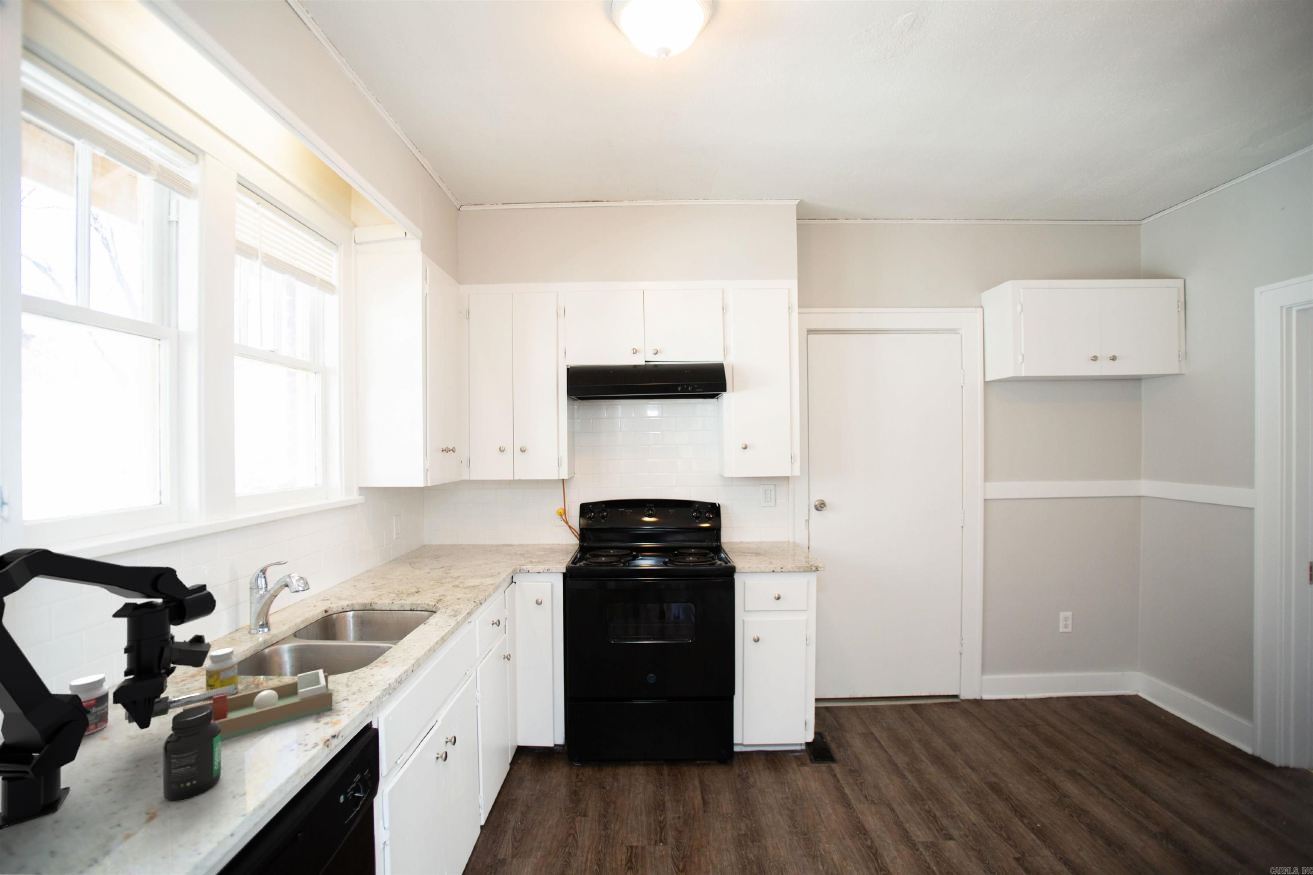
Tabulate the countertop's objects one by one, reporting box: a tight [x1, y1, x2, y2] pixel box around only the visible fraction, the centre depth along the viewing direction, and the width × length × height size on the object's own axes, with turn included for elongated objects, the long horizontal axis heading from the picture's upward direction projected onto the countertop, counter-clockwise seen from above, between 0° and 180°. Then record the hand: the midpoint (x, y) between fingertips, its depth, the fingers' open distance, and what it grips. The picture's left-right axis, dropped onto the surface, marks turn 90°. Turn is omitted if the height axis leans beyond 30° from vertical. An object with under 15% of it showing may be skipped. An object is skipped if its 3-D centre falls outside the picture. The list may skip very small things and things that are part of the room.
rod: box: [124, 685, 235, 724], centre depth 96 cm, size 4×15×7 cm, turn 127°
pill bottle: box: [68, 673, 110, 736], centre depth 99 cm, size 6×6×10 cm
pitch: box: [182, 672, 333, 741], centre depth 102 cm, size 12×24×4 cm, turn 127°
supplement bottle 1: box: [162, 705, 222, 802], centre depth 81 cm, size 7×7×12 cm
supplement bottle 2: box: [205, 647, 239, 701], centre depth 113 cm, size 5×5×10 cm
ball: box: [253, 690, 278, 710], centre depth 103 cm, size 4×4×4 cm
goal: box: [296, 668, 326, 699], centre depth 108 cm, size 10×5×4 cm, turn 37°
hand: (149, 720), depth 93 cm, fingers open, 7 cm apart
